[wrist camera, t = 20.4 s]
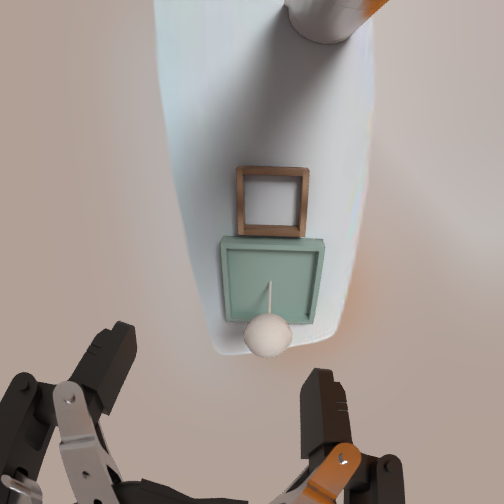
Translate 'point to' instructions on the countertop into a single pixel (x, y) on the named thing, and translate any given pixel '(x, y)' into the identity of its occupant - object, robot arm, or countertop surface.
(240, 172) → the square wooden frame
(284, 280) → the tray
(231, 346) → the countertop surface
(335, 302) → the countertop surface
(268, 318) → the lollipop
